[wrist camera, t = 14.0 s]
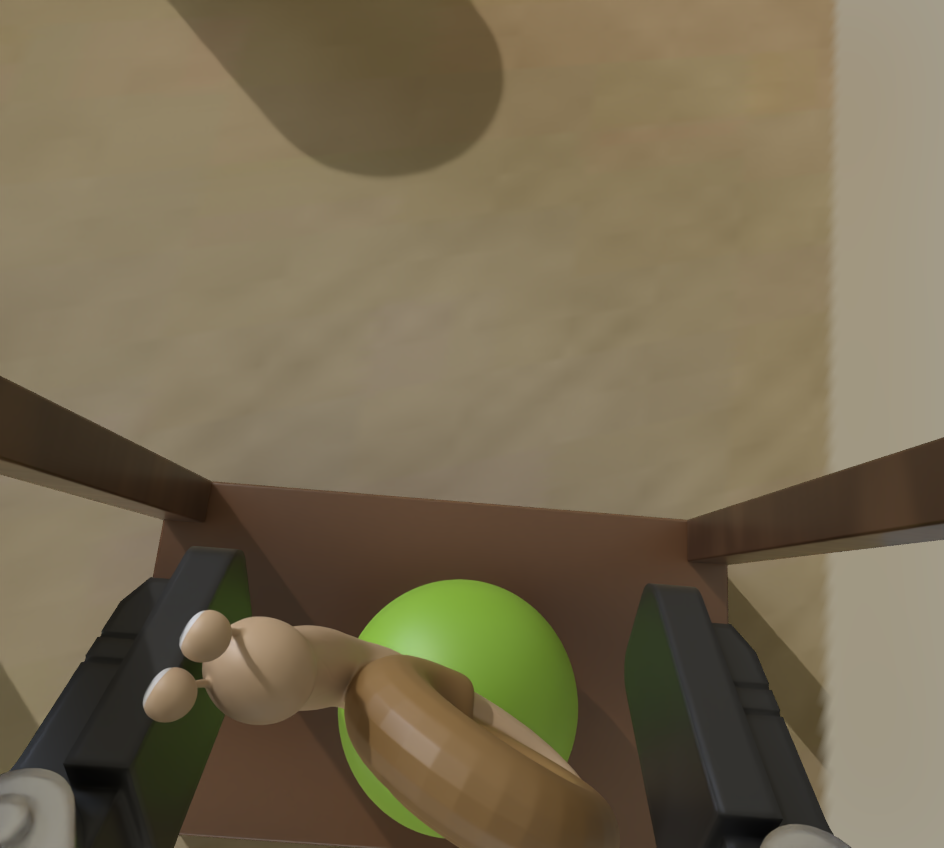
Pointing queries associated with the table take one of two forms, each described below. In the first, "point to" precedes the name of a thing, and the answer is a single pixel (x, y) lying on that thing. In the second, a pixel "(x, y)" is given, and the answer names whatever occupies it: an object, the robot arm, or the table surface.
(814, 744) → the table surface
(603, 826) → the snail figurine
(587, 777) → the shelf unit
